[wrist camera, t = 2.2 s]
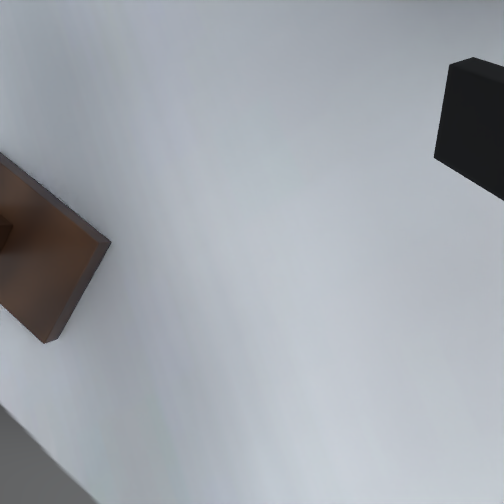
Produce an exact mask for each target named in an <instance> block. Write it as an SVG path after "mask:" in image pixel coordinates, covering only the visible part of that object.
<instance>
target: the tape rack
mask: <svg viewBox="0 0 504 504" xmlns="http://www.w3.org/2000/svg"><path fill="white" fill-rule="evenodd" d="M110 244H111V242H110V241H109V240H108V239H107V238H106V237H104V236H103V235H102V234H101V233H99V232H98V231H97V230H96V229H94V228H93V227H92V226H91V225H89V224H88V223H87V222H86V221H84V220H83V219H82V218H81V217H80V216H78V215H77V214H76V213H75V212H73V211H72V210H71V209H70V208H68V207H67V206H66V205H65V204H63V203H62V202H61V201H60V200H58V199H57V198H56V197H55V196H54V195H52V194H51V193H50V192H49V191H47V190H46V189H45V188H44V187H42V186H41V185H40V184H39V183H37V182H36V181H35V180H34V179H32V178H31V177H30V176H29V175H28V174H26V173H25V172H24V171H23V170H21V169H20V168H19V167H18V166H16V165H15V164H14V163H13V162H11V161H10V160H9V159H8V158H6V157H5V156H4V155H3V154H2V153H0V304H1V305H2V306H3V307H5V308H6V309H7V310H8V311H9V312H10V313H11V314H12V315H13V316H14V317H15V318H16V319H17V320H19V321H20V322H21V323H22V324H23V325H24V326H25V327H26V328H27V329H28V330H29V331H30V332H31V333H33V334H34V335H35V336H36V337H37V338H38V339H39V340H40V341H41V342H42V343H43V344H45V343H48V342H51V341H53V340H56V339H58V337H59V335H60V334H61V332H62V330H63V328H64V326H65V325H66V323H67V321H68V319H69V317H70V316H71V314H72V312H73V310H74V308H75V307H76V305H77V303H78V301H79V299H80V298H81V296H82V294H83V292H84V290H85V289H86V287H87V285H88V283H89V281H90V280H91V278H92V276H93V274H94V272H95V271H96V269H97V267H98V265H99V264H100V262H101V260H102V258H103V256H104V255H105V253H106V251H107V249H108V247H109V246H110Z"/></svg>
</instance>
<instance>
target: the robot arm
mask: <svg viewBox="0 0 504 504" xmlns="http://www.w3.org/2000/svg"><path fill="white" fill-rule="evenodd" d="M434 158H435V159H437V160H438V161H440V162H442V163H443V164H445V165H446V166H448V167H450V168H451V169H453V170H455V171H456V172H458V173H459V174H461V175H463V176H464V177H466V178H468V179H469V180H471V181H472V182H474V183H476V184H477V185H479V186H481V187H482V188H484V189H485V190H487V191H489V192H490V193H492V194H494V195H495V196H497V197H498V198H500V199H502V200H503V201H504V67H503V66H500V65H497V64H493V63H490V62H487V61H484V60H481V59H478V58H475V57H472V58H469V59H466V60H463V61H459V62H456V63H453V64H450V65H449V70H448V76H447V82H446V88H445V94H444V100H443V105H442V111H441V117H440V123H439V129H438V135H437V141H436V147H435V153H434Z"/></svg>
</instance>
